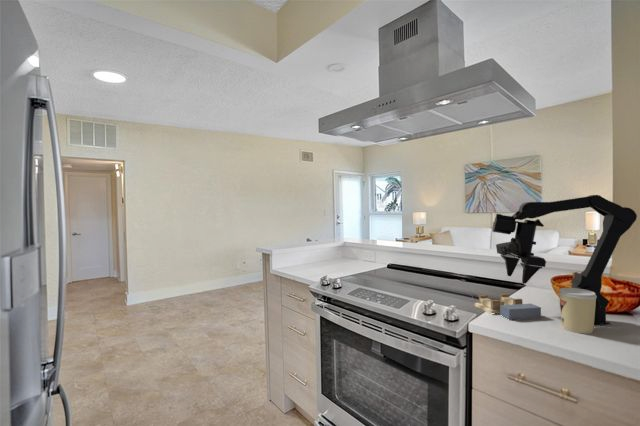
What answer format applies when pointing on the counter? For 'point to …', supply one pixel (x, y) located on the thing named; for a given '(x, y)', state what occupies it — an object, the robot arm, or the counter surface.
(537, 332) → the counter surface
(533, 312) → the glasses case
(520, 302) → the display stand
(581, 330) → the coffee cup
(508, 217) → the robot arm
